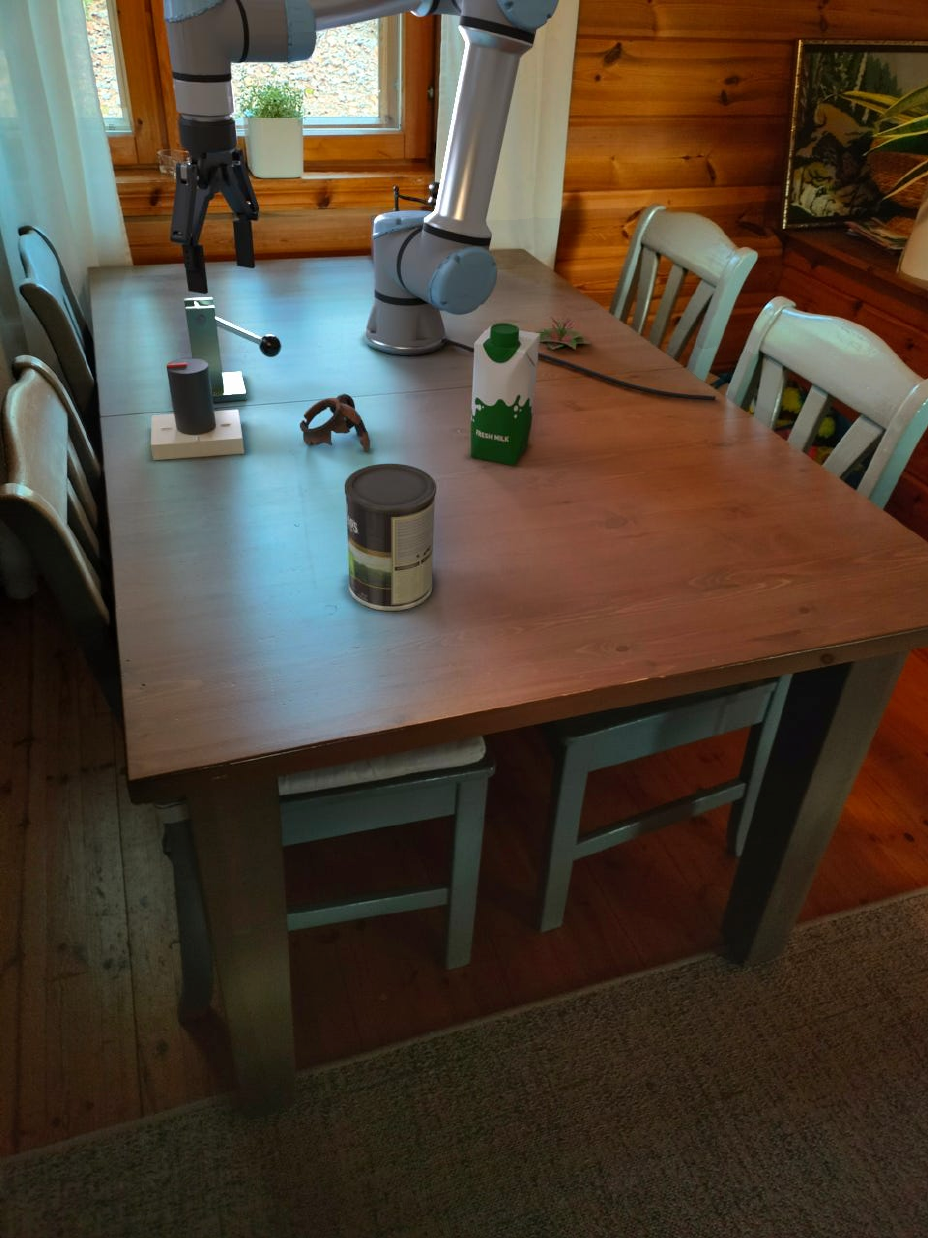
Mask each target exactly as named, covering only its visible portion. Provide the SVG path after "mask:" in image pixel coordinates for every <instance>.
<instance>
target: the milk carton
mask: <svg viewBox="0 0 928 1238" xmlns="http://www.w3.org/2000/svg"><path fill="white" fill-rule="evenodd" d="M539 340H540V334H539V333H535V332H533V331H526V330H520V328H519V327H518V326H517V325H515V324H511V323H508V322H507V323H506V322H505V323H504V322H501V323H495V324H491V325H490V326H489V327H488V328H487V329H485V330H484V331H483V332H482V333H481V335H479V337H478V338H477V339H476V341H475V342H474V344H473V345H474V347H473V348H474V352H473V356H474V357H473V371H472V372H473V373H472V390H471V391H472V392H471V409H470V410H471V412H470V458H473V459H479V460H482V461H483V460H484V461H487V462H493V463H498V464H502V465H503V464H504V465H508V466H513V467H515V465H516V464H517V463H518V461H519V459H520V458H521V457H522V455H523V454H524V452H525V450H526V449H527V447H528V444H529V439H530V433H531V429H532V423H533V414H534V406H535V405H534V404H535V403H534V402H535V393H536V385H537V374H538V364H539V357H538V353H539V349H540V342H539Z"/></svg>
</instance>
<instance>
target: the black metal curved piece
mask: <svg viewBox="0 0 928 1238" xmlns="http://www.w3.org/2000/svg"><path fill="white" fill-rule="evenodd" d="M439 188H440V182H439V181H433V182H430V184H429V185H428V192H429V198H428V200H426V199H422V198H418V197H413V196H409V195H402V194H401V193H400V192H399V191H400V186H399V185H395V186H393V191H394V192H393V193H392V195H393V197H394V208H393V210H390V211H388V212H387V213H389V212H396V211H401V210H400V207H399V198H400V199H401V200H404V201H409V202H414V203H418V204H421V205H426V206H431V207H432V208H433V207H436V204H437V198H438V193H439ZM379 215H380V214H376V215H375V214H374V215H370V257H371V259H372V261H373V262H374V246H373V238H372V237H373V229H374V221H375V219H376V218H377V217H378V216H379Z"/></svg>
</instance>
